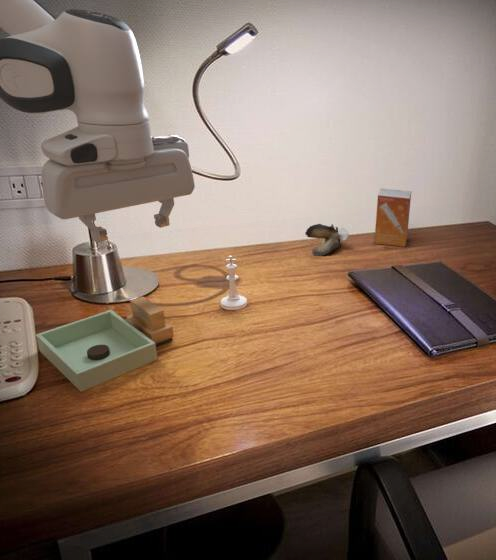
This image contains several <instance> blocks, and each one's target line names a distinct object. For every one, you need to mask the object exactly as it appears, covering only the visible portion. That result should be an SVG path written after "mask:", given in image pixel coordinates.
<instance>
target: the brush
mask: <svg viewBox="0 0 496 560" xmlns="http://www.w3.org/2000/svg"><path fill="white" fill-rule="evenodd" d="M129 302H130V307H131V308H130V309H131V314H128V315H126V316H125V317H126V321H127V322H128V323H129V324H131V325H132V326H133V327H135V328H136V329H137V330H139V331H140V332H141V333H143V334H144V335H145V336H147V337H148V338H149V339H151V340H152V341H153V342H155V344H156V348H158V347H161V346H163V345H165V344H167V343H171V342H173V338H174V337H175V334H174V327H173V325H172V324H170V323H168V322H167V321H166V320H165V319H166V318H165V312H164V309H163V308H161V307H159V306H158V305H157V304H155V303H154V302H152V301H150V300H149V299H147V298H146V297H145V296H141V297H137V298H135V299H131V300H130V301H129Z"/></svg>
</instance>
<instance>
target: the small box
mask: <svg viewBox="0 0 496 560" xmlns="http://www.w3.org/2000/svg"><path fill="white" fill-rule="evenodd" d="M411 200H412V191H410V190H400V189H393V188H392V189H390V188H388V189H387V188H379V192H378V194H377V200H376V201H377V203H376V215H375V230H374V231H375V233H374V244H376V245H386V246H393V247H394V246H395V247H401V248H402V247H403V248H405V247H406V245H407V240H408V231H409V222H410V211H411V210H410V209H411Z"/></svg>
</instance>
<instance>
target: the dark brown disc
mask: <svg viewBox="0 0 496 560" xmlns="http://www.w3.org/2000/svg"><path fill="white" fill-rule="evenodd" d="M109 354H110V350H109V347H108V346H107V345H95V346H93V347H91V348H89V349H88V350H87V355H88V358H89V359H90V360H101V359H104V358H106V357H108V356H109Z"/></svg>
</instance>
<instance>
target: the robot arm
mask: <svg viewBox="0 0 496 560" xmlns="http://www.w3.org/2000/svg"><path fill="white" fill-rule="evenodd" d="M0 28H1V29H2V30H3V31H4V32H6V34H8V36H6V37H3V38H0V99H1V100H2V102H4V103H5V104H6V105H8V106H9V107H11V108H12V109H15V110H17V111H19V112H22V113H28V114H36V115H37V114H38V115H45V114H51V113H55V112H58V111H59V112H61V111H65V110H66V111H71V112H73V113H74V114H75V117H76V122H77V126H76V127H73V128H72V129H69V130H68V131H64V132H62V133H60V134H57V135H55V136H52V137H50V138H48V139H45V140H43V141H42V143H41V144H40V149H41V152H42V154H43V155H44V156H45V157H46V158H48V160H47V161H45V162H44V163H43V165H42V167H41V186H42V195H43V200H44V204H45V207H46V210H47V211H48V212H49V213H50V214H52V215H54V216H55V217H57V218H58V219H61V220H70V219H75V218H78V220H80V221H81V222H82V223H83V225H85V226H86V228H87V229H88V230H89V231H90V235H91V239H92V241H93V242H95V243H96V244H98V243H102V242H106V241H108V240H109V237H108V236H107V235H108V231H107V229H106V228H104V227H103V226H97V225H96V224H95V223H94V222H95V221H96V220H97V218H96V217H97V216H96V214H101V213H104V212H105V213H106V212H109V211H110V212H111V211H116V210H120V209H125V208H130V207H136V206H141V205H145V204H149V203H150V204H151V203H156V202H158V203H159V204H161V205H160V208H159V211H158V213H156V214H153V218H154V224H155V226H156V227H158V228H160V229H161V228H165V227H169V226H170V215H171V213H172V211H173V208H174V206H175V198H180V197H184V196H189V195H192V194H193V192H194V190H195V188H196V187H195V186H196V185H195V184H196V183H195V178H194V174H193V169H192V166H191V163H190V160H189V158H190V150H189V144H188V142H187V141H186V140H185V139H184V138H182V137H179V136H178V135H176V134H170V135H166V136H153V135H152V128H151V121H150V115H149V112H148V111H147V108H146V106H145V105H146V104H145V91H146V83H145V77H144V71H143V70H144V69H143V66H142V59H141V55H140V52H139V47H138V44H137V39H136V37H135V36H134V33H133V31H132V29H131V28H130V27H129V25H127V24H126V23H125V22H124V21H122V20H120V19H119V18H117V17H114V16H111V15H108V14H104V13H100V12H97V11H89V10H86V9H74V8H73V9H72V8H71V9H66V10H64V11H62V13H60V15H59V16H58V17H57V16H56V15H55V14H54V13H52V12H51V11H50V10H49V9H48V8H47V7H46V6H45V5H43V3H41V2H40V1H39V0H0Z"/></svg>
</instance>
